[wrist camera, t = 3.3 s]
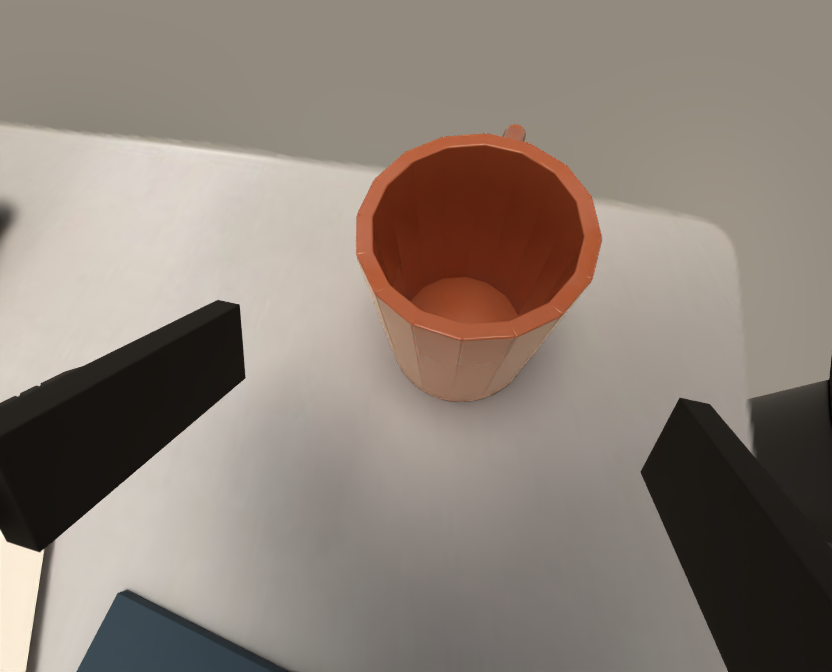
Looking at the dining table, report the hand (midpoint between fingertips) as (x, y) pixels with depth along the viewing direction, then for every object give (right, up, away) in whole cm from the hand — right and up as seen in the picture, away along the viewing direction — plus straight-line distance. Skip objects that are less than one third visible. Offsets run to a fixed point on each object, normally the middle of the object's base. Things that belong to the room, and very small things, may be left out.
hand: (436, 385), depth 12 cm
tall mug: (+3, +3, +12) cm, 13 cm away
